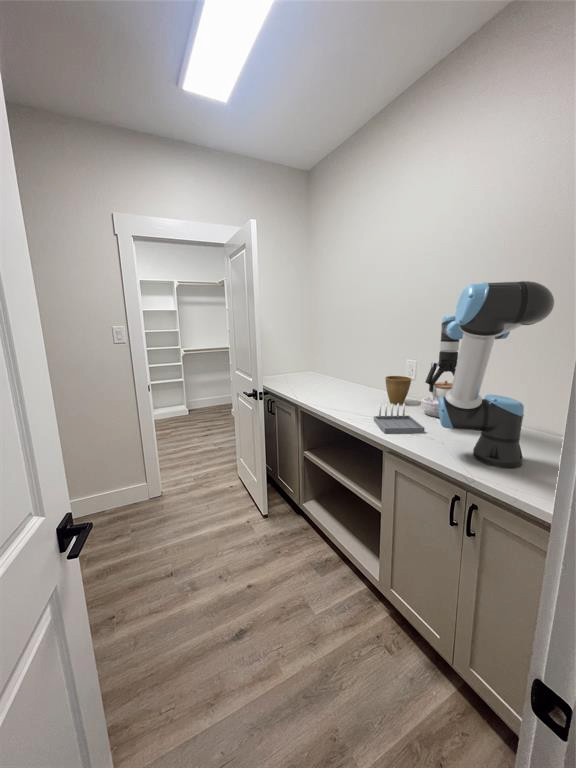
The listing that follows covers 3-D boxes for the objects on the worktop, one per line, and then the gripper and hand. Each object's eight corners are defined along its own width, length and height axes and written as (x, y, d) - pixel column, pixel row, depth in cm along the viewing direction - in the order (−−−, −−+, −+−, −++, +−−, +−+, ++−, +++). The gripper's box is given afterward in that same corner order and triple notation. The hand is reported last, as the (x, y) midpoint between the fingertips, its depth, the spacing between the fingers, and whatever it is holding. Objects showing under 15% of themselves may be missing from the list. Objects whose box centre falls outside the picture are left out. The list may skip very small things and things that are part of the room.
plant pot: (403, 408, 179) (405, 381, 175) (379, 403, 189) (381, 378, 185) (413, 402, 189) (415, 377, 186) (390, 399, 199) (392, 374, 196)
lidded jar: (461, 404, 137) (463, 383, 135) (435, 403, 139) (436, 382, 137) (453, 398, 147) (455, 379, 145) (429, 397, 149) (430, 378, 147)
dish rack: (424, 432, 140) (425, 414, 138) (384, 433, 140) (385, 414, 138) (408, 420, 158) (409, 403, 156) (373, 420, 158) (374, 403, 156)
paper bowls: (440, 409, 175) (441, 396, 173) (458, 418, 160) (459, 403, 158) (415, 411, 173) (416, 397, 171) (430, 419, 158) (431, 404, 156)
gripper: (469, 349, 142) (465, 396, 146) (419, 350, 142) (416, 397, 146) (479, 351, 135) (474, 400, 139) (426, 352, 135) (423, 401, 139)
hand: (444, 398), depth 143 cm, fingers closed on lidded jar, 11 cm apart
